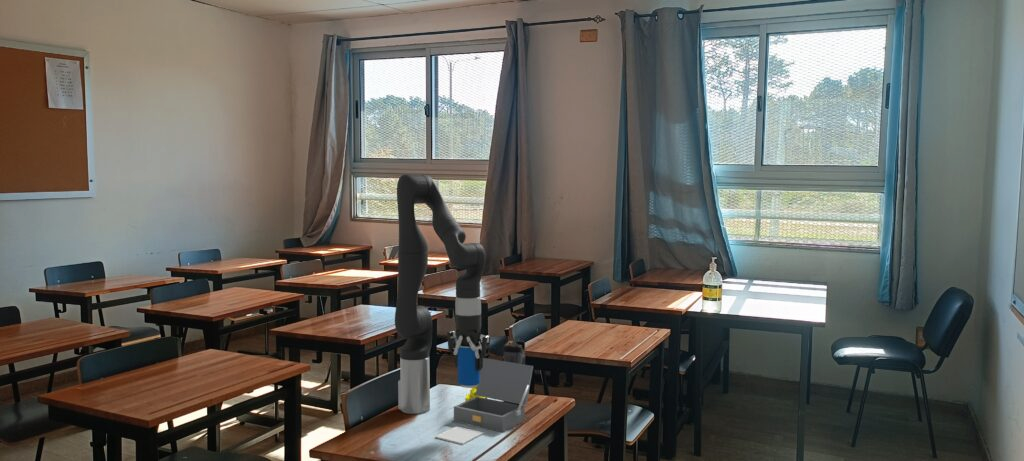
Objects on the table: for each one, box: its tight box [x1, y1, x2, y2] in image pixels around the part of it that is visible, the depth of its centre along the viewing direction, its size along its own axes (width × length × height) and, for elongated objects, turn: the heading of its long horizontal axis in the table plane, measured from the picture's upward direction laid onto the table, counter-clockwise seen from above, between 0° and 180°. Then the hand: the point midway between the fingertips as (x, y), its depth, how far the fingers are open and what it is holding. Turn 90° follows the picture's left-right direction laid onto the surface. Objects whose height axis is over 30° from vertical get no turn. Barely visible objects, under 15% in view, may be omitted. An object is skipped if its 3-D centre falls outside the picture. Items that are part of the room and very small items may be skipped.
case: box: [453, 357, 534, 433], centre depth 220 cm, size 19×17×16 cm
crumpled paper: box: [464, 386, 488, 402], centre depth 238 cm, size 6×8×8 cm
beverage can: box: [457, 345, 480, 389], centre depth 209 cm, size 6×6×12 cm
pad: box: [434, 425, 485, 446], centre depth 207 cm, size 10×10×1 cm
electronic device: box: [503, 339, 526, 405], centre depth 236 cm, size 9×6×20 cm, turn 168°
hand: (468, 368), depth 209 cm, fingers closed on beverage can, 6 cm apart
